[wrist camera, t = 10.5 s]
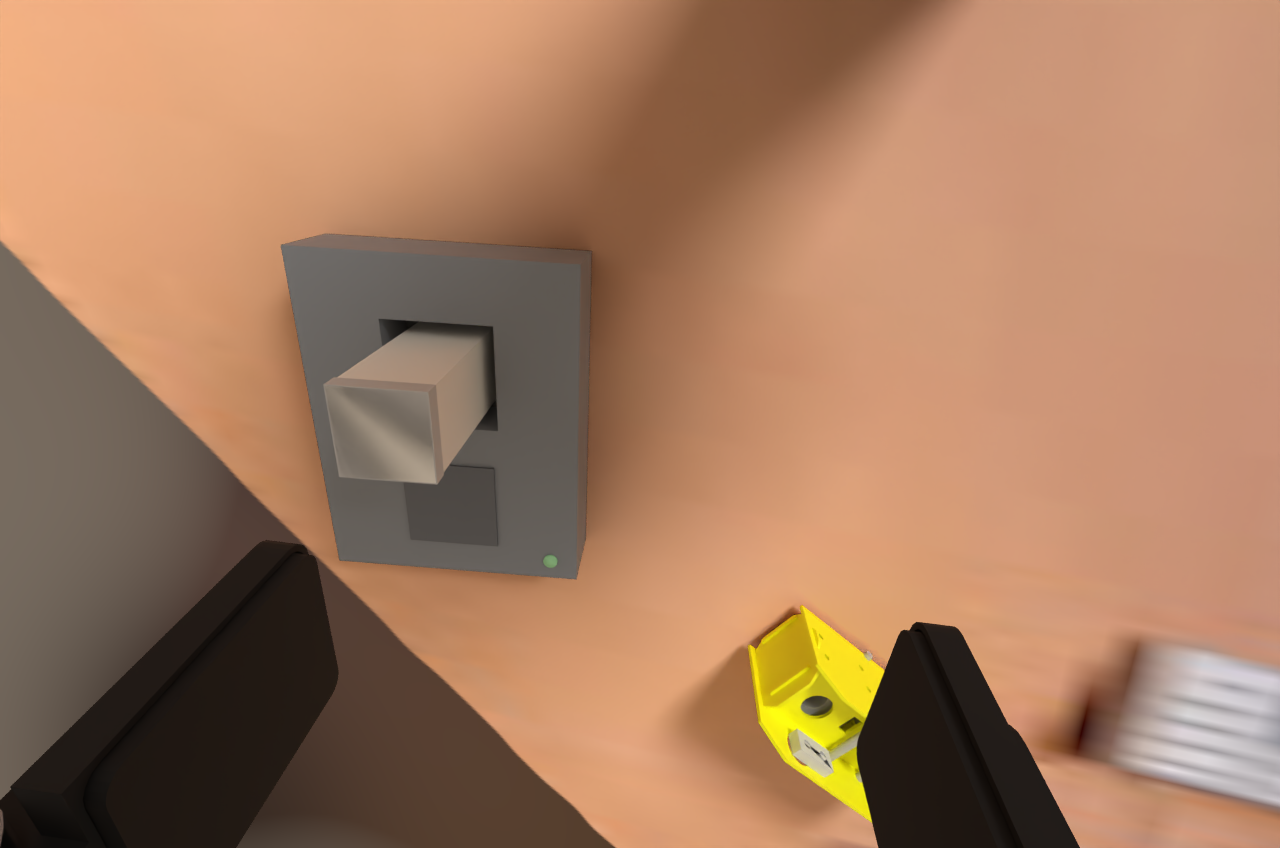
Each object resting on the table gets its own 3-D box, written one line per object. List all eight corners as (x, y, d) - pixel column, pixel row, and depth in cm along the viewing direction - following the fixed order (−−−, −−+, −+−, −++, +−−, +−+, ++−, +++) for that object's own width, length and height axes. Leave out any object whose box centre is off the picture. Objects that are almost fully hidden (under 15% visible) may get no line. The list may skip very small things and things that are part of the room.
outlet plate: (325, 233, 32) (278, 245, 28) (591, 251, 31) (580, 265, 28) (370, 522, 39) (338, 562, 36) (585, 538, 39) (576, 581, 35)
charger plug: (421, 317, 32) (323, 384, 23) (497, 323, 32) (428, 392, 23) (428, 389, 34) (339, 476, 25) (501, 394, 34) (437, 484, 25)
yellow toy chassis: (741, 640, 42) (755, 749, 34) (803, 594, 40) (832, 698, 33) (892, 753, 46) (934, 874, 38) (955, 715, 44) (1013, 835, 36)
